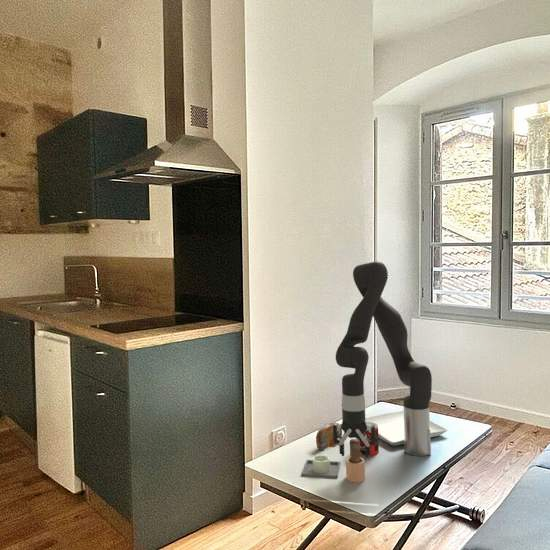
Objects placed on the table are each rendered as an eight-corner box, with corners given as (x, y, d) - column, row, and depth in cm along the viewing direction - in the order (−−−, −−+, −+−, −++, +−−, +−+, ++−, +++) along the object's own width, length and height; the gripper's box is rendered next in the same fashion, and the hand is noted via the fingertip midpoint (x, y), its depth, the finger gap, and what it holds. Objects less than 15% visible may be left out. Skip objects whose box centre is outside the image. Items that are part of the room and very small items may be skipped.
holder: (330, 466, 173) (330, 455, 173) (328, 474, 168) (328, 462, 167) (314, 465, 175) (314, 454, 174) (311, 472, 169) (311, 461, 169)
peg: (361, 477, 165) (359, 439, 164) (360, 482, 162) (359, 443, 161) (351, 476, 166) (350, 438, 165) (350, 481, 163) (349, 442, 162)
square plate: (353, 428, 212) (353, 419, 212) (406, 417, 223) (405, 409, 223) (392, 451, 188) (392, 441, 187) (449, 437, 198) (448, 428, 198)
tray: (340, 466, 175) (340, 461, 175) (337, 481, 164) (337, 475, 164) (307, 464, 178) (306, 459, 178) (301, 478, 167) (301, 473, 167)
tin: (321, 454, 186) (321, 432, 186) (314, 452, 188) (314, 430, 188) (343, 441, 198) (342, 420, 197) (336, 439, 200) (335, 419, 199)
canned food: (353, 452, 187) (352, 423, 186) (371, 448, 190) (370, 420, 189) (363, 460, 180) (363, 430, 179) (382, 456, 183) (382, 426, 182)
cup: (365, 477, 166) (364, 456, 166) (364, 485, 160) (364, 464, 160) (347, 476, 168) (346, 455, 167) (346, 484, 162) (345, 463, 161)
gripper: (376, 404, 165) (377, 452, 166) (332, 402, 168) (334, 450, 169) (375, 411, 157) (376, 462, 158) (330, 409, 161) (331, 459, 162)
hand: (354, 455), depth 164 cm, fingers open, 7 cm apart
